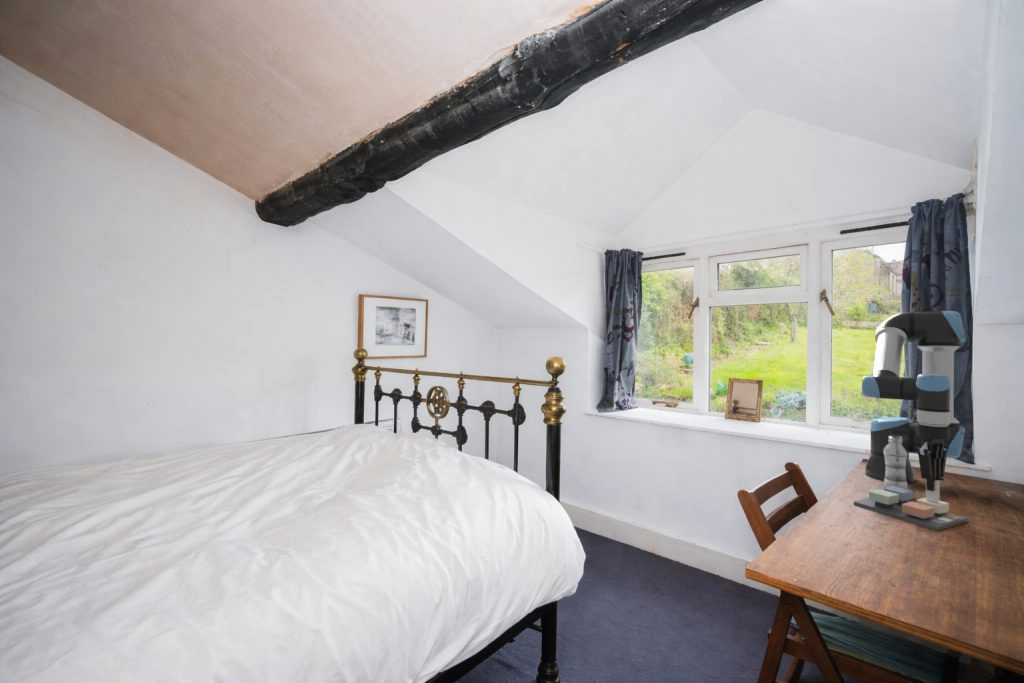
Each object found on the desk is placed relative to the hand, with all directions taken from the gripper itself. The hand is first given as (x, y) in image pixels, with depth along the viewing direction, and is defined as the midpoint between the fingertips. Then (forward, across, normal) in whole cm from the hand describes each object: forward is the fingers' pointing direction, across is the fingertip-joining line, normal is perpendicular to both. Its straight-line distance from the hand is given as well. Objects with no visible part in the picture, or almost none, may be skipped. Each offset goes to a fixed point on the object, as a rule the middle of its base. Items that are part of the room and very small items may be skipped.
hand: (932, 500), depth 139 cm
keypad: (+5, +4, -5) cm, 8 cm away
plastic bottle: (+5, -13, -16) cm, 21 cm away
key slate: (+2, 0, -9) cm, 9 cm away
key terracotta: (+3, +8, 0) cm, 8 cm away
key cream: (+3, 0, 0) cm, 3 cm away
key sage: (+2, +8, -9) cm, 12 cm away
